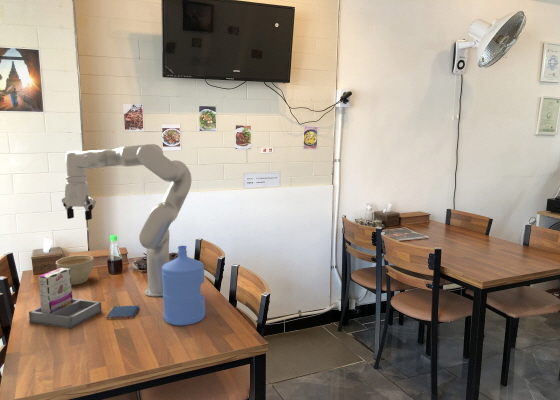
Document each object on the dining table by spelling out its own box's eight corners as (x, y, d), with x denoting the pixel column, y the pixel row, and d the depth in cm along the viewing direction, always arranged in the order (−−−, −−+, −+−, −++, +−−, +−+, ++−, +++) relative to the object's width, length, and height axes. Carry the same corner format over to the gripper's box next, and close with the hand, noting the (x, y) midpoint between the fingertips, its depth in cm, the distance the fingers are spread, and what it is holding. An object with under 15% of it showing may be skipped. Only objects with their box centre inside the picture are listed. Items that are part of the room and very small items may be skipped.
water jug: (179, 330, 152) (176, 254, 148) (155, 318, 163) (152, 247, 159) (213, 317, 164) (211, 246, 160) (189, 306, 174) (187, 239, 170)
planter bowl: (60, 278, 210) (59, 256, 208) (96, 274, 214) (95, 254, 213) (54, 289, 194) (52, 266, 193) (92, 285, 199) (91, 262, 198)
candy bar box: (63, 306, 172) (60, 267, 169) (73, 307, 170) (70, 268, 168) (40, 317, 161) (36, 275, 159) (50, 319, 160) (47, 277, 157)
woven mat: (113, 310, 172) (113, 305, 171) (140, 309, 173) (140, 304, 172) (105, 321, 162) (104, 316, 161) (133, 320, 162) (133, 315, 162)
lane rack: (101, 311, 169) (100, 302, 168) (70, 328, 154) (69, 318, 153) (63, 306, 175) (62, 296, 174) (29, 322, 160) (28, 311, 159)
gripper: (54, 180, 182) (57, 219, 185) (87, 181, 177) (89, 221, 180) (67, 178, 190) (70, 216, 192) (99, 179, 184) (102, 218, 187)
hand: (79, 218), depth 186 cm, fingers open, 9 cm apart
